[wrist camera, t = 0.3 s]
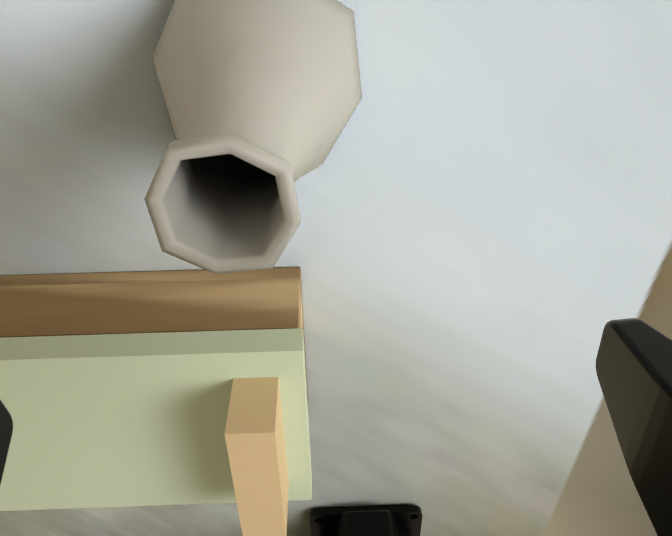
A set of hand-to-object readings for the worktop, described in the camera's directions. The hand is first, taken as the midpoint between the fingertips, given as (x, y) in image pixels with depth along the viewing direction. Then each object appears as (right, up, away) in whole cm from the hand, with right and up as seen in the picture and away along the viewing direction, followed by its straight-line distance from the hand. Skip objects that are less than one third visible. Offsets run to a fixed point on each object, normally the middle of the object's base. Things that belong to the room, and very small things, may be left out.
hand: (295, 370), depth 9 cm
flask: (-2, +8, +12) cm, 15 cm away
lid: (-8, -4, +15) cm, 17 cm away
